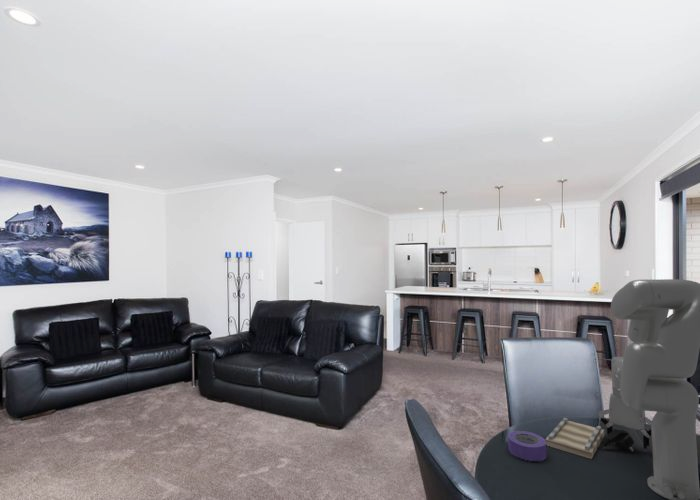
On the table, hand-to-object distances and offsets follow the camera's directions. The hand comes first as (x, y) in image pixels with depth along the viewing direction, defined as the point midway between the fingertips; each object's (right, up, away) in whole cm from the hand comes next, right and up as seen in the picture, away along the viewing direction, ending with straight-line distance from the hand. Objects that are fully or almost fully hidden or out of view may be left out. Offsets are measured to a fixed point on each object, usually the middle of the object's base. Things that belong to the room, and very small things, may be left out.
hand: (627, 442), depth 126 cm
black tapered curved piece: (-5, -2, -1) cm, 6 cm away
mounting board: (-14, -2, +6) cm, 16 cm away
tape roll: (-37, -2, -3) cm, 37 cm away
